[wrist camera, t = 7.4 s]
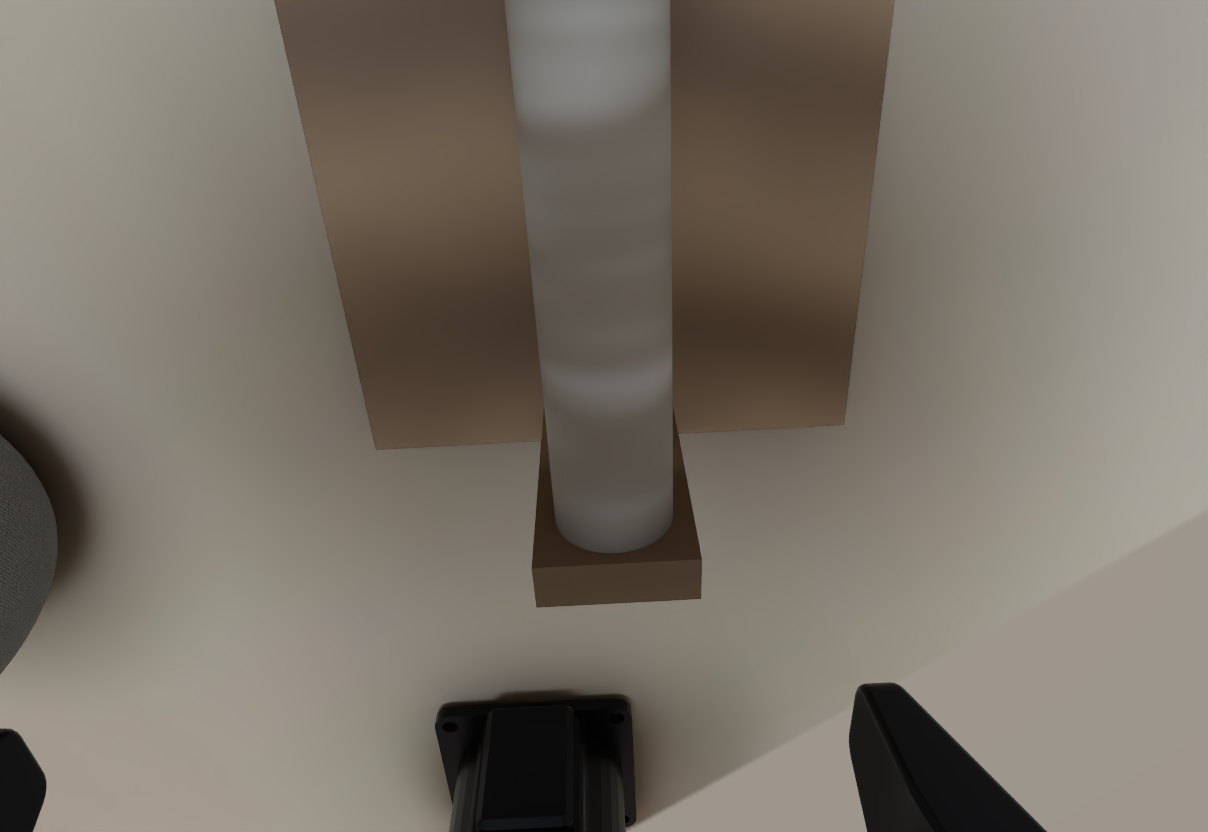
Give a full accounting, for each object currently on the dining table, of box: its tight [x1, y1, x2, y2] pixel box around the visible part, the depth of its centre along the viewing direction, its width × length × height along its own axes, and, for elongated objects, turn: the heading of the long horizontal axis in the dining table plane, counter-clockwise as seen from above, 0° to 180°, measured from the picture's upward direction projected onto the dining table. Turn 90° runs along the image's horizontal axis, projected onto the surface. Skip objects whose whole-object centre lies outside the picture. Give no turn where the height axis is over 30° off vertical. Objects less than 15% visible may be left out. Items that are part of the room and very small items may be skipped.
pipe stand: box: [274, 0, 894, 607], centre depth 15 cm, size 18×12×7 cm, turn 3°
